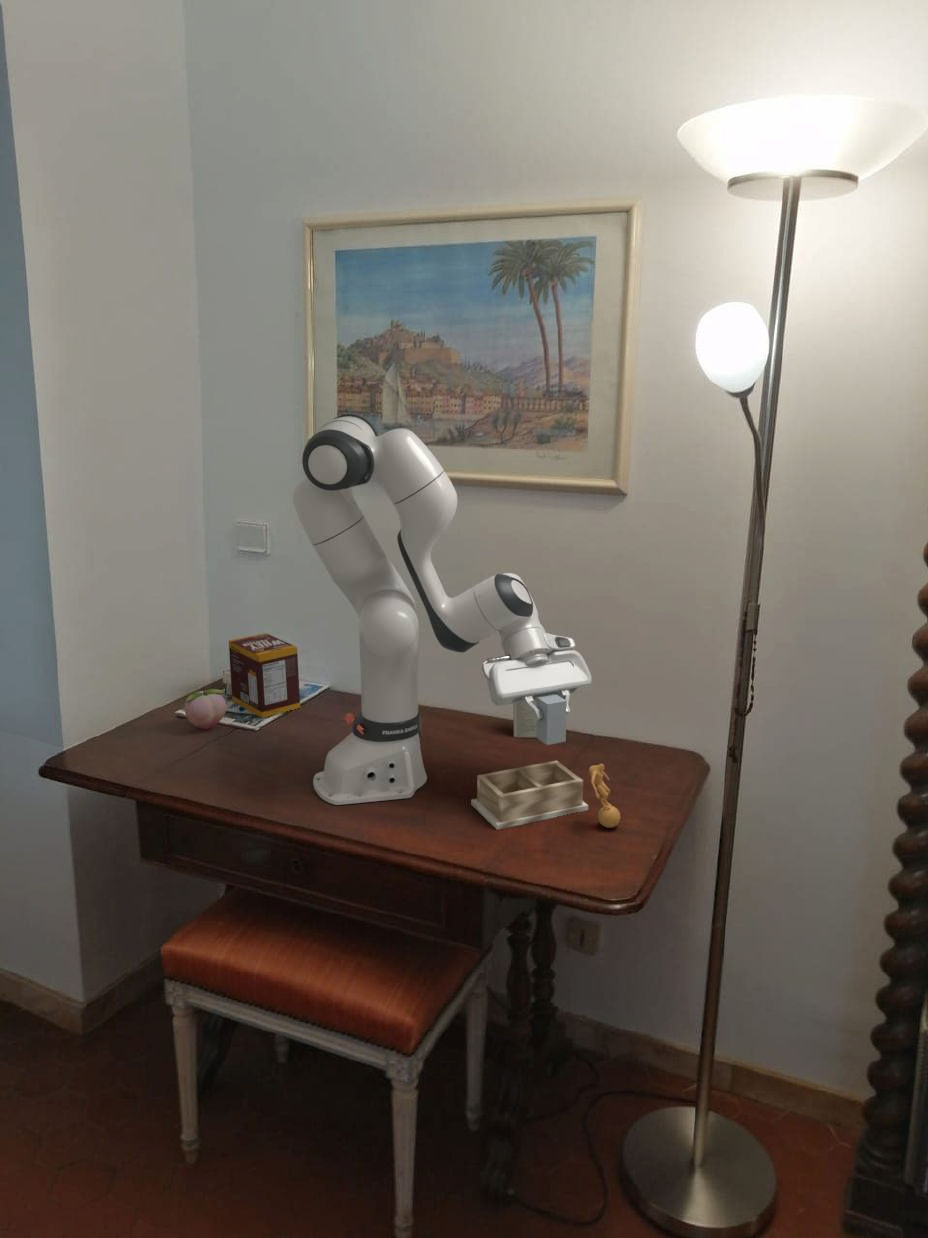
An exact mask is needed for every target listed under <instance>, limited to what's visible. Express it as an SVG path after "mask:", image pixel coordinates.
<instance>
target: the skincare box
mask: <svg viewBox="0 0 928 1238" xmlns="http://www.w3.org/2000/svg"><path fill="white" fill-rule="evenodd" d="M532 703H533V704H534V705H535V706H536V707H537V699H536V700H533V702H532ZM512 705H513V707H512V709H513V737H514V738H535V739H537V738H536V729H537V722H535V721H534V719H533V716H532V714H531V713H530V712H528V711H527V710H526V709H525V708H524V707H523V705H522V702H519V703H513V704H512Z"/></svg>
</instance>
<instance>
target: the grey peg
mask: <svg viewBox="0 0 928 1238" xmlns="http://www.w3.org/2000/svg"><path fill="white" fill-rule="evenodd" d="M537 708H538V709H542V710H543V714H544V716H545V717H544V719H543V720H542V721H537V729H536V738H535V739H538V740H539V741H540V742H542V744H544V745H546V746H549V745H555V744H559V743H565V742H566V740H567V737H566V736H567V716H566V708H567V701H566V700H564V699H563V698H561V697H560V696H558V695H557V694H553V695H548V696H542V697H537Z"/></svg>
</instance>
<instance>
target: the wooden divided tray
mask: <svg viewBox="0 0 928 1238" xmlns="http://www.w3.org/2000/svg"><path fill="white" fill-rule="evenodd" d="M476 778H477V785H476V787H477V791H476V795H477V796H476V798H473V799H471V800H470V801H471V802H470V805H471V806H472V807H473V808H474V809H475V810H477V812H478V813H479V814H480V815H481V816H483V818H484V819H485V820H486V821H487V822H488V823H490V825H492V827H494V829H496V830H498V831H499V830H502V829H507V828H512V827H517V826H521V825H526V824H530V823H535V822H539V821H540V822H541V821H545V820H549V819H553V818H557V817H558V816H559V817H563V815H564V816H568V815H571V814H572V813H573V814H577V813H582V812H586V811H589V804H587V803H586V802H585V801H584V800H583V798H584V797H583V795H584V779H582V778H581V777H579V776H578V775H576V774H575V773H574V772H572V771H571V769H569V768H567V767H566V766H564V765H563V764H562V763H561V762H560V761H558V760H552V761H547V762H546V761H545V762H542V763H541V762H540V763H537V764H529V765H526V766H525V765H524V766H519V767H515V768H510V769H504V770H499V771H493V772H490V773H488V772H487V773H483V774H478V775H477V777H476ZM576 812H577V813H576ZM567 814H568V815H567ZM559 817H558V818H559Z"/></svg>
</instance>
